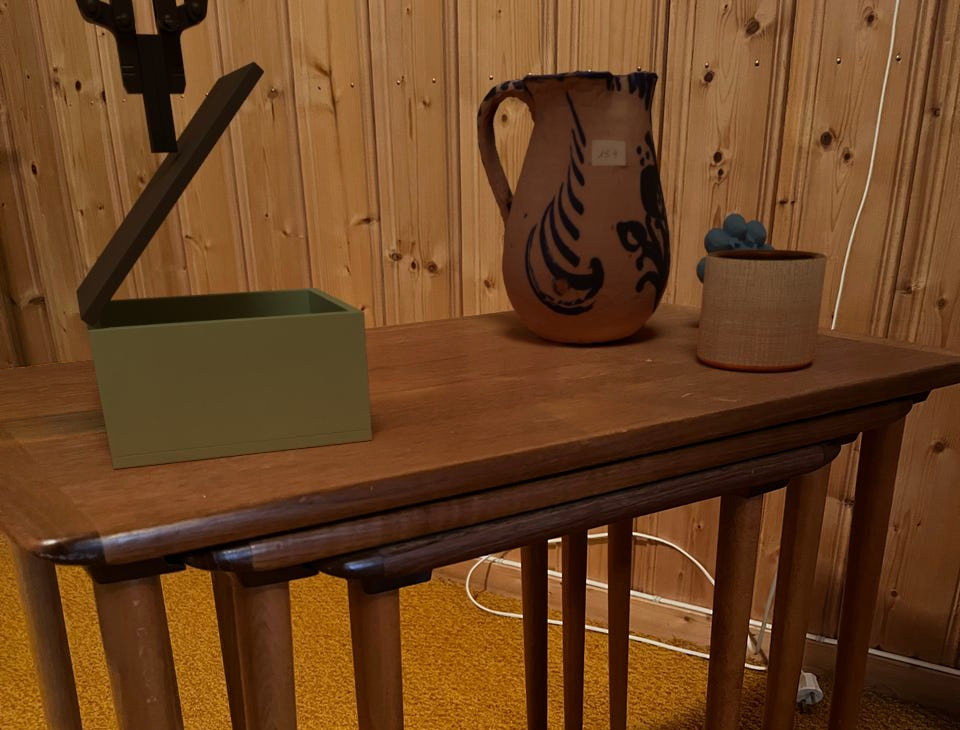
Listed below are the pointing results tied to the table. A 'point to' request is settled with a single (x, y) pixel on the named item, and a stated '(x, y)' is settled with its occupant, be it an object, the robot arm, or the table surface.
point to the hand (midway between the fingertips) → (164, 152)
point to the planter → (760, 309)
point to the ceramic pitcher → (582, 205)
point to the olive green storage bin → (230, 374)
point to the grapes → (734, 238)
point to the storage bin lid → (164, 190)
